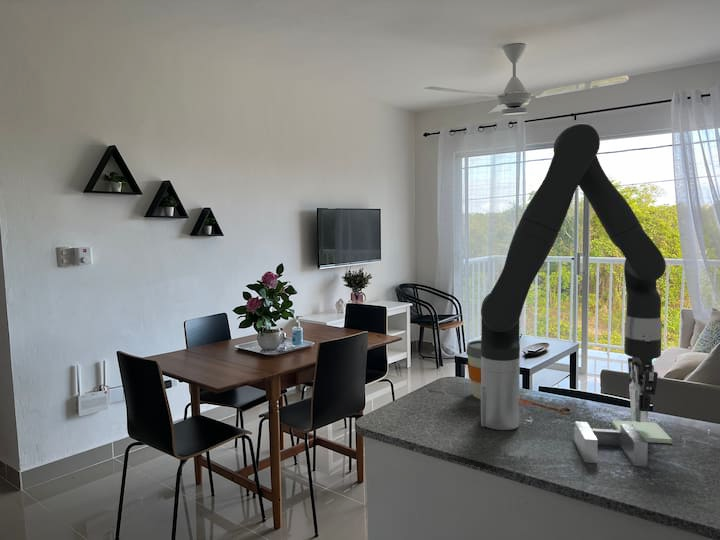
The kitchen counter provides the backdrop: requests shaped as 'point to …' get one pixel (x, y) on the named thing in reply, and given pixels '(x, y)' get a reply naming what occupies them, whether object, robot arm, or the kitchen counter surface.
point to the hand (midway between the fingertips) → (641, 406)
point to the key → (527, 403)
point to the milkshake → (636, 404)
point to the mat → (646, 431)
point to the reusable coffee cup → (474, 366)
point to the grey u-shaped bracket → (610, 442)
